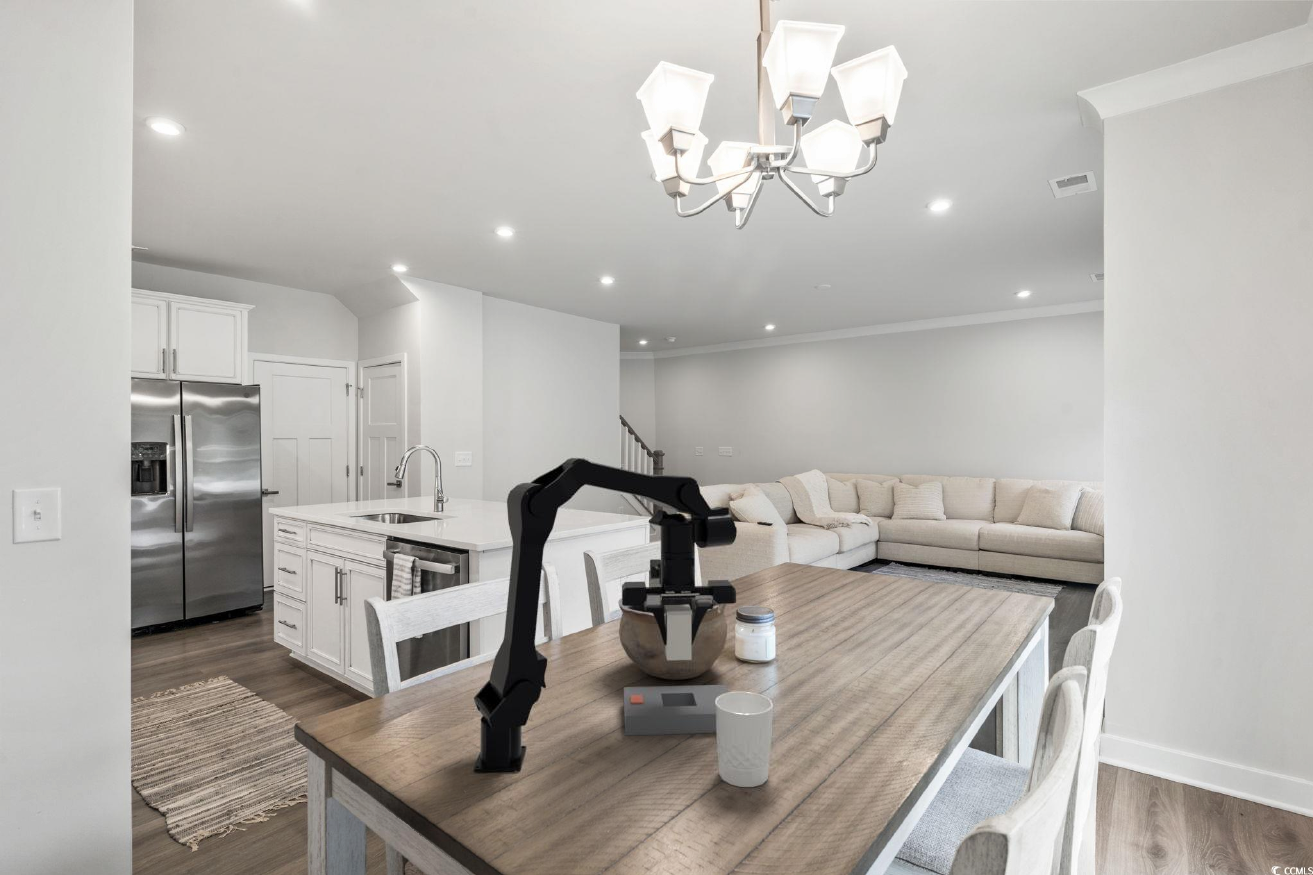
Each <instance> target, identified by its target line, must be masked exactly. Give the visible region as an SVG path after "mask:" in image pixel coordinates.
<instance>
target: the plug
mask: <svg viewBox="0 0 1313 875" xmlns="http://www.w3.org/2000/svg"><path fill="white" fill-rule="evenodd" d="M664 609H665V626H666V634H667V645H665V653H666V657H667V660H692V652H691V615H692V610H691V608H690V606H689V605H664Z"/></svg>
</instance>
